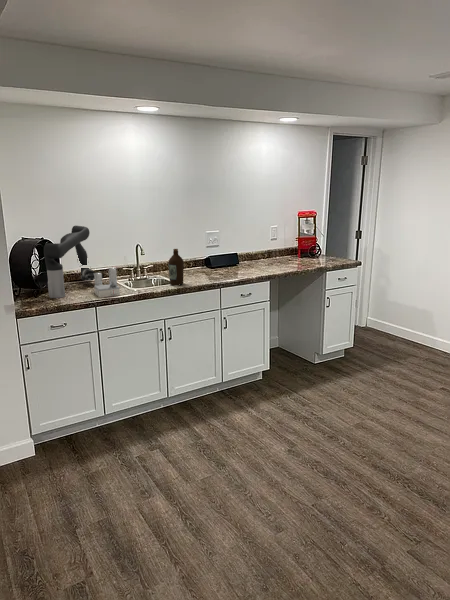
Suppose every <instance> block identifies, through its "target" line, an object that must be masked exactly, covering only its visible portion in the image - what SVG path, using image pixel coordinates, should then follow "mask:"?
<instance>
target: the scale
mask: <svg viewBox="0 0 450 600" xmlns="http://www.w3.org/2000/svg"><path fill="white" fill-rule="evenodd" d="M93 287H94V288H93V289H94V294H95V295H96V296H97V297H98V298H104V297H116V296H120V295H121V292H120V291H121V290H120V286H118V285H117V287H115V288H111V287H110V283H109V284H102V285H98V286H95V285H94V286H93Z"/></svg>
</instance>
